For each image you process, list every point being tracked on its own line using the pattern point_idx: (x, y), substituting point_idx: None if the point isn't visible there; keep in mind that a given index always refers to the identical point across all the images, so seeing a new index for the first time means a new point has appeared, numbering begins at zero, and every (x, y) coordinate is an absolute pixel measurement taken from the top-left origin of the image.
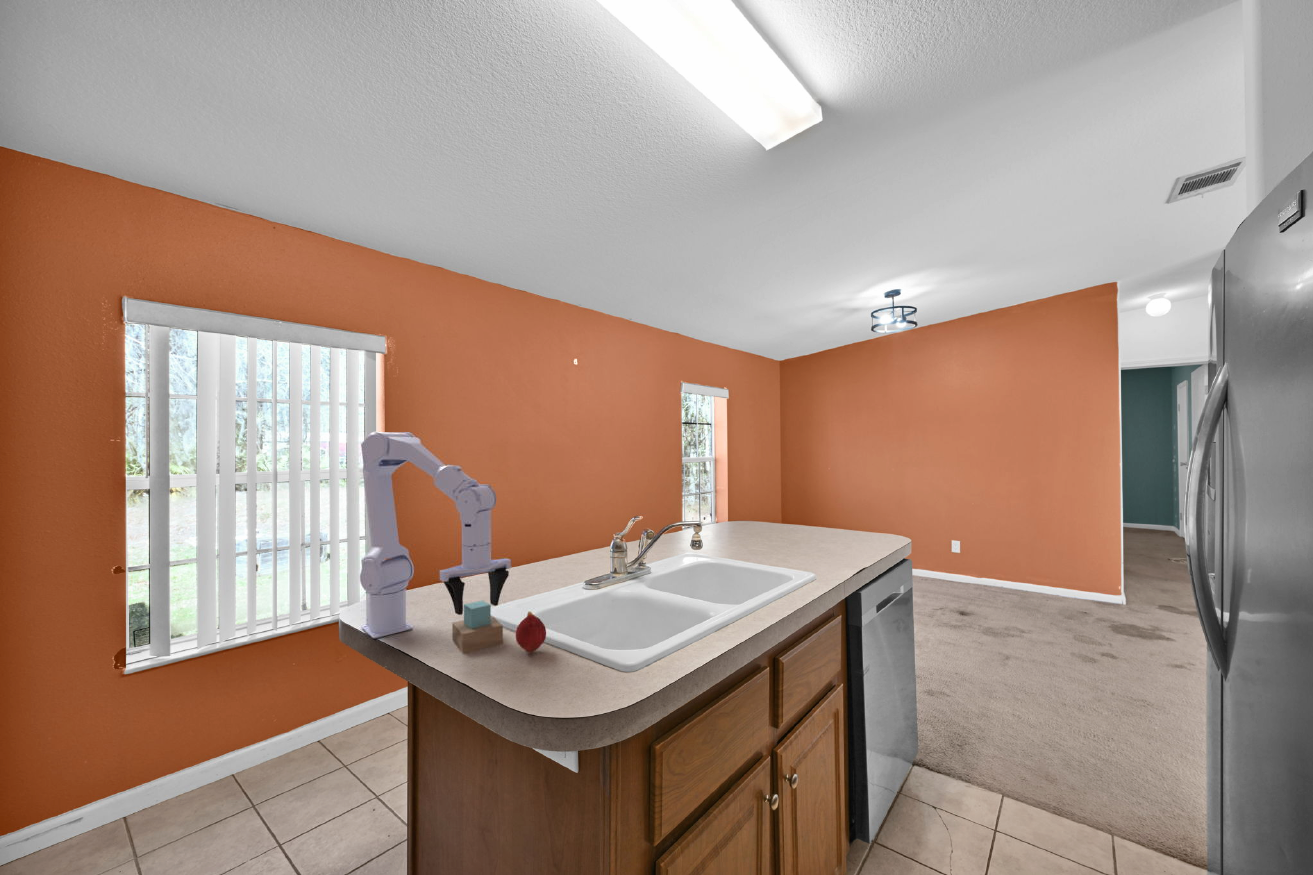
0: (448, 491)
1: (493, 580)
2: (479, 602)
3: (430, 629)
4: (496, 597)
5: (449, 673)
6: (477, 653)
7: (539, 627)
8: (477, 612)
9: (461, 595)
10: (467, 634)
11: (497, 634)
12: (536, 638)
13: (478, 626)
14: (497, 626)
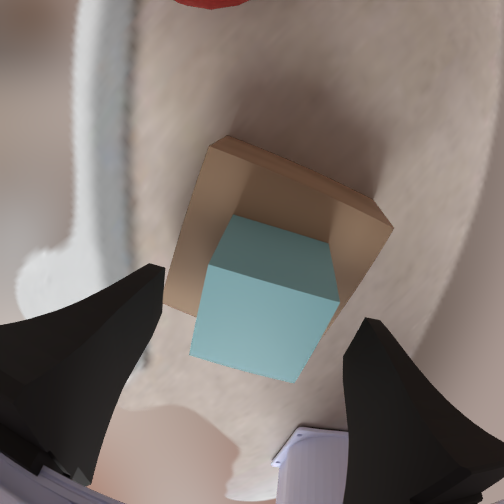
0: None
1: (90, 406)
2: (221, 347)
3: (277, 403)
4: (139, 287)
5: (491, 117)
6: (351, 145)
7: None
8: (301, 273)
9: (418, 397)
10: (373, 217)
11: (242, 149)
12: None
13: (294, 234)
14: (234, 157)
